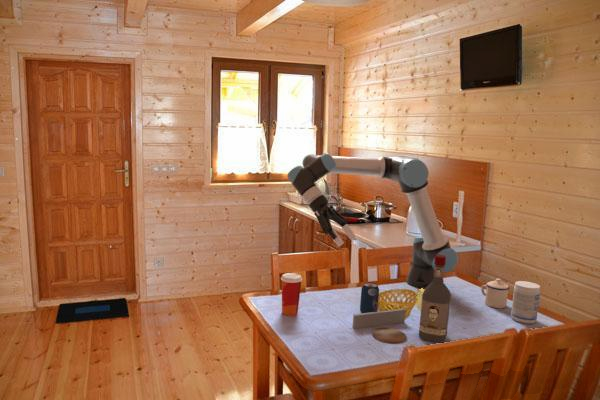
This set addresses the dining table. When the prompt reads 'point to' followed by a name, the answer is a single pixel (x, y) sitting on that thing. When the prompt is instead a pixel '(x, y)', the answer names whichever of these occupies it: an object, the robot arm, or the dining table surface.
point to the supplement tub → (525, 302)
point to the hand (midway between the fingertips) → (347, 241)
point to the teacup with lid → (496, 293)
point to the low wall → (378, 318)
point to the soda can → (369, 297)
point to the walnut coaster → (389, 335)
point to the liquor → (435, 306)
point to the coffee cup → (290, 293)
